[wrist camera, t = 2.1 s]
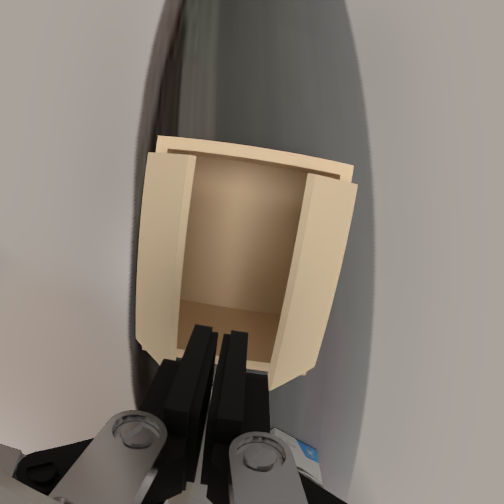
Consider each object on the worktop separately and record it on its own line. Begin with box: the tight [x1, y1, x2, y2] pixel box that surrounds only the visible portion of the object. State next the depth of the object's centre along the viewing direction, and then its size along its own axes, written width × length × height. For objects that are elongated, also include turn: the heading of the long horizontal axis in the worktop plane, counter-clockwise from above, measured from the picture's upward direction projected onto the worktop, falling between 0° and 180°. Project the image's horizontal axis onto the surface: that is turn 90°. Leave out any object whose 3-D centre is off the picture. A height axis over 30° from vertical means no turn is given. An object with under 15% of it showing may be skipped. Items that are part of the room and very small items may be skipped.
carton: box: [142, 136, 354, 375], centre depth 26 cm, size 16×13×10 cm
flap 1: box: [136, 152, 196, 365], centre depth 19 cm, size 5×14×1 cm
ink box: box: [270, 428, 323, 488], centre depth 31 cm, size 9×5×15 cm, turn 49°
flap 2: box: [267, 173, 358, 391], centre depth 20 cm, size 5×14×1 cm
